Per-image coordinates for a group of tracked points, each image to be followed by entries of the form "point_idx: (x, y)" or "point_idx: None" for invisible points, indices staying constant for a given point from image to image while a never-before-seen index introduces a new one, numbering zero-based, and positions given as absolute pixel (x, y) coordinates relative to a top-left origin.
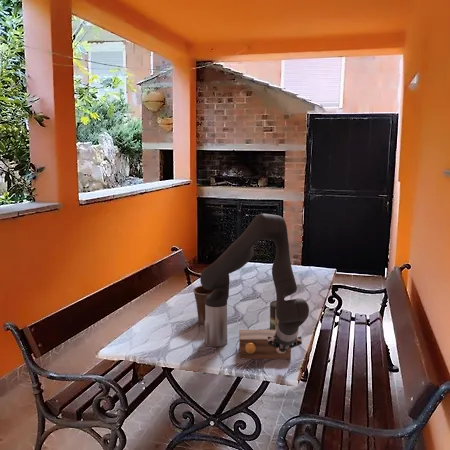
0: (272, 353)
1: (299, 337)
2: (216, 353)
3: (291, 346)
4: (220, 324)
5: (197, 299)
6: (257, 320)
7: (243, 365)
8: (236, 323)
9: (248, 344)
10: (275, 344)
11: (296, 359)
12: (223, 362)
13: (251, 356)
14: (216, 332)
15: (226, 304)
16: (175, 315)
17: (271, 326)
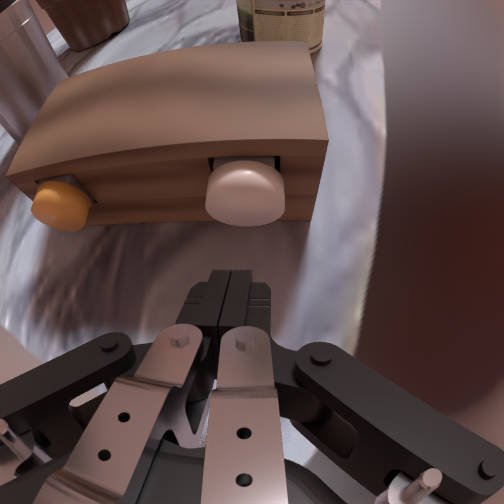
0: (198, 205)
1: (483, 497)
2: (18, 190)
3: (315, 445)
4: (5, 84)
5: (40, 6)
6: (219, 5)
7: (58, 295)
8: (156, 22)
9: (34, 206)
10: (106, 387)
11: (342, 229)
12: (10, 262)
13: (99, 219)
14: (9, 111)
15: (4, 7)
16: (52, 41)
17: (241, 19)
